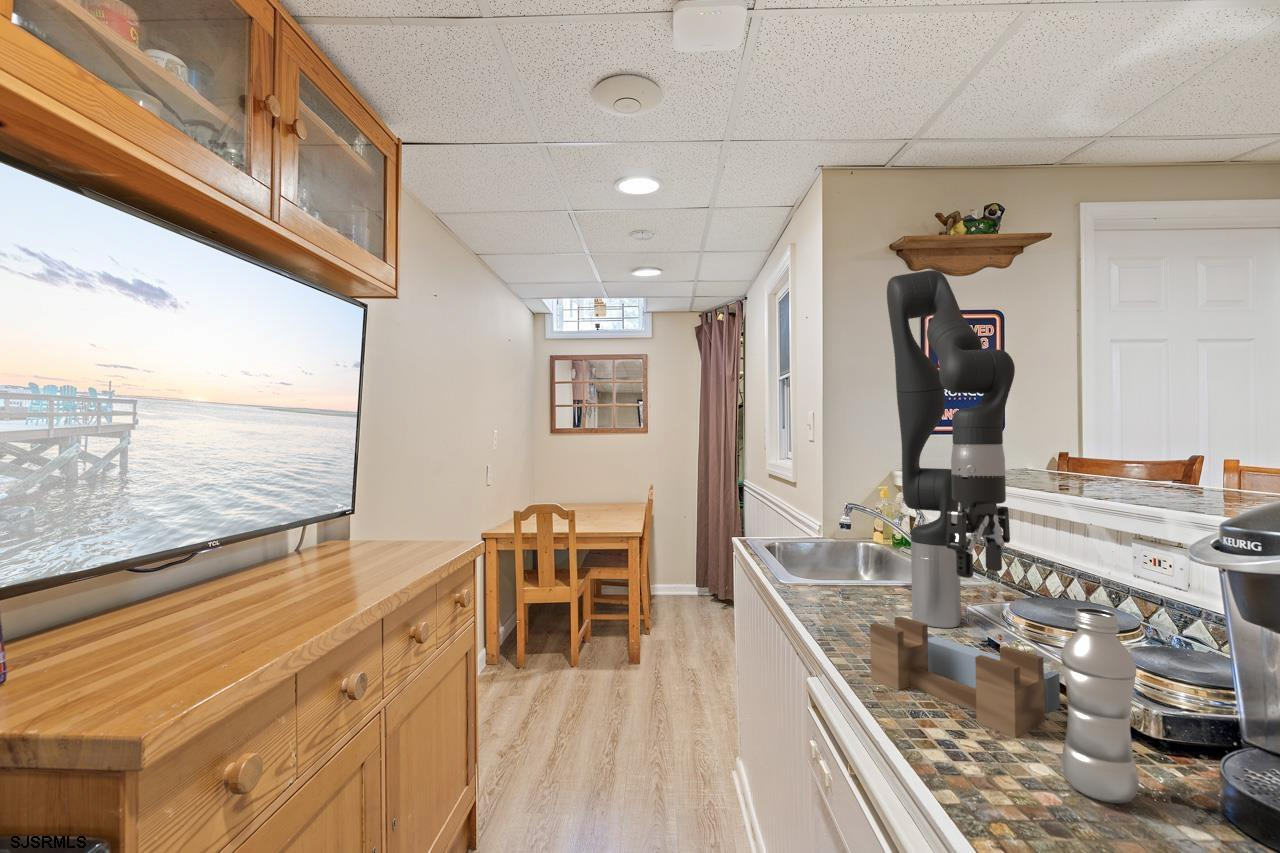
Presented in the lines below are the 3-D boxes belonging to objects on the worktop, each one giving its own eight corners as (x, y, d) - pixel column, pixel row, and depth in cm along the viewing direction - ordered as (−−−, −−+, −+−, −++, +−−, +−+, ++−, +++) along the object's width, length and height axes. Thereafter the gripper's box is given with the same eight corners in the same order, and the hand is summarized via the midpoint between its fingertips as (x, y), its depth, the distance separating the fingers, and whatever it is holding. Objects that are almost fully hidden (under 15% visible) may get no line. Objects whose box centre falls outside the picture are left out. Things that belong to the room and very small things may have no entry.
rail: (930, 663, 101) (929, 634, 101) (1060, 707, 84) (1059, 673, 84) (916, 667, 99) (916, 638, 99) (1047, 714, 82) (1046, 679, 82)
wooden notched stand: (900, 669, 98) (900, 616, 98) (1044, 722, 79) (1043, 657, 80) (870, 679, 94) (870, 624, 94) (1015, 738, 75) (1013, 668, 75)
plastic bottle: (1067, 769, 68) (1063, 600, 68) (1143, 794, 63) (1138, 612, 64) (1056, 793, 63) (1052, 611, 64) (1137, 822, 59) (1131, 625, 59)
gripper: (978, 470, 99) (979, 564, 99) (929, 472, 92) (931, 574, 91) (1025, 472, 93) (1027, 572, 92) (977, 474, 86) (979, 584, 85)
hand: (979, 573), depth 92 cm, fingers open, 8 cm apart
